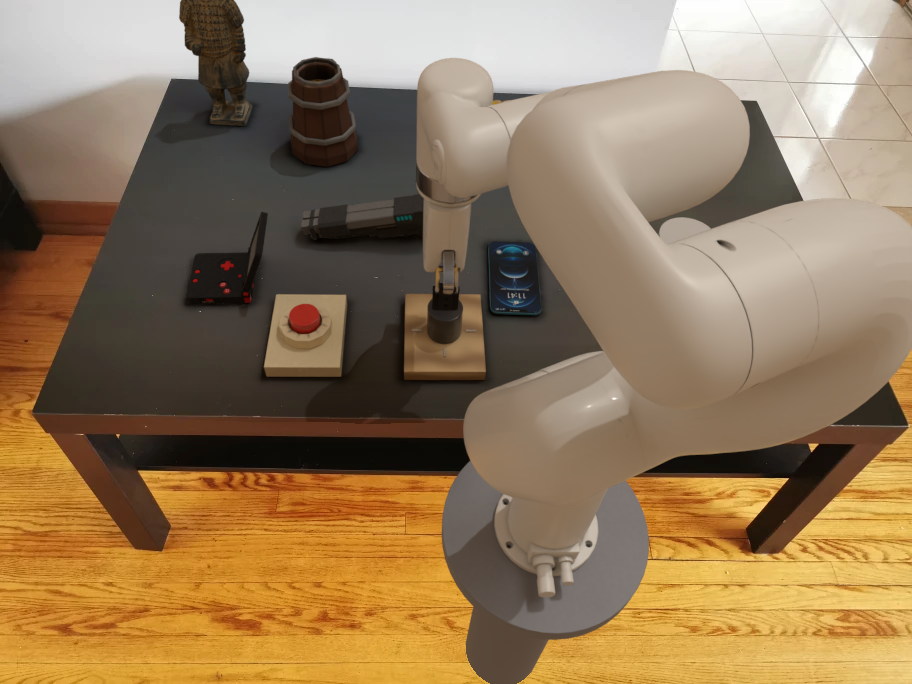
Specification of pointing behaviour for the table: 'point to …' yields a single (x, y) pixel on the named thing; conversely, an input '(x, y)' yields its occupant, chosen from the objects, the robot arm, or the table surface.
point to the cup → (680, 229)
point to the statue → (219, 55)
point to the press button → (304, 318)
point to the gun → (367, 219)
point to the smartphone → (513, 278)
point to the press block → (307, 338)
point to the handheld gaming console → (227, 273)
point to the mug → (321, 113)
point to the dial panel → (443, 359)
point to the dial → (444, 324)
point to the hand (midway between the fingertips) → (443, 279)
